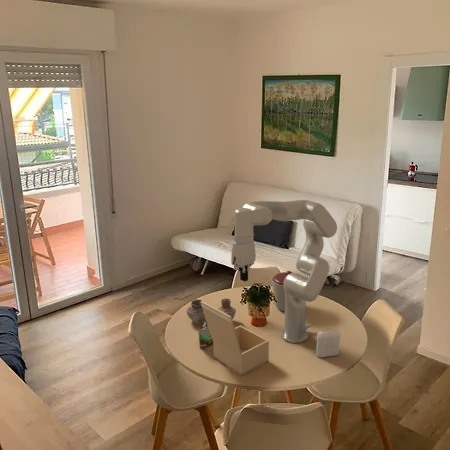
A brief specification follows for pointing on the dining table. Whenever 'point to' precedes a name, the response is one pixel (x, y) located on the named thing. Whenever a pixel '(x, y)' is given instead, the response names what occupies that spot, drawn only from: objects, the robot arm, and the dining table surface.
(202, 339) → the food container
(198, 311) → the pottery
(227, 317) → the carton lid
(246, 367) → the carton
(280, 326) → the dining table surface
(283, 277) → the canister
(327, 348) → the photo printer
